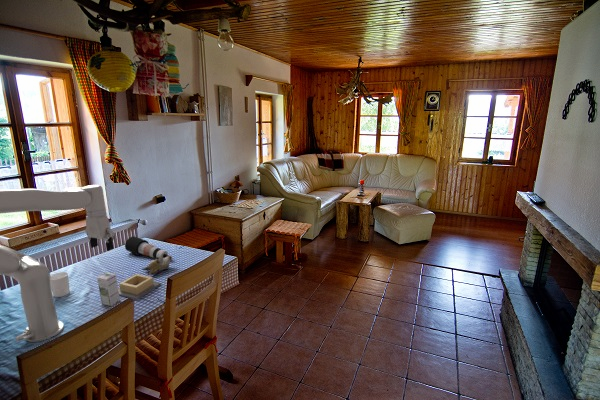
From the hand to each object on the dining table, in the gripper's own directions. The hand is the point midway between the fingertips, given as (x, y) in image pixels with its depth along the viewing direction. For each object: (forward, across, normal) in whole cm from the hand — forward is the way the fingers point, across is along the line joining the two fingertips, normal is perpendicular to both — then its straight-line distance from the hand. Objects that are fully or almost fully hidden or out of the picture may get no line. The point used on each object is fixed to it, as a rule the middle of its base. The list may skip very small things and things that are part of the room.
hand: (102, 248), depth 149 cm
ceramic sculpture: (+29, -3, +34) cm, 44 cm away
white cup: (+28, -30, -3) cm, 41 cm away
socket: (+28, +2, +14) cm, 31 cm away
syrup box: (+28, 0, 0) cm, 28 cm away
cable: (+29, -22, +48) cm, 60 cm away
